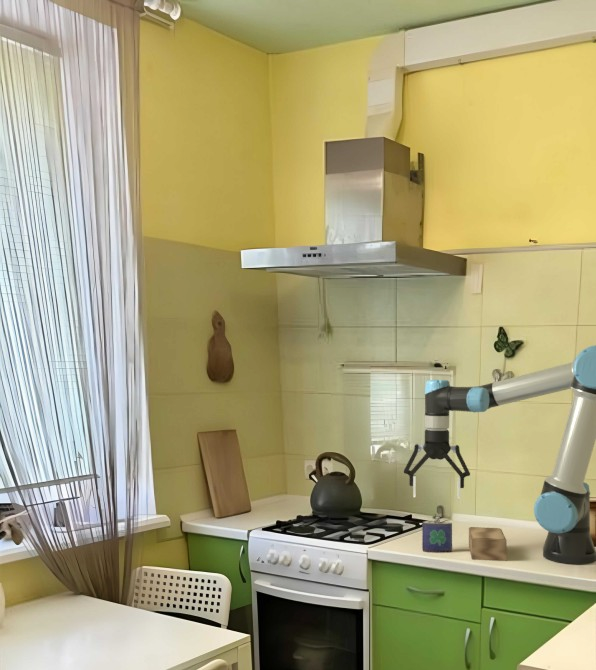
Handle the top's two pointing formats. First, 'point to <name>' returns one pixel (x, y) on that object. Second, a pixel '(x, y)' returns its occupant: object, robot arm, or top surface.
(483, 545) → the walnut block
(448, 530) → the flask
